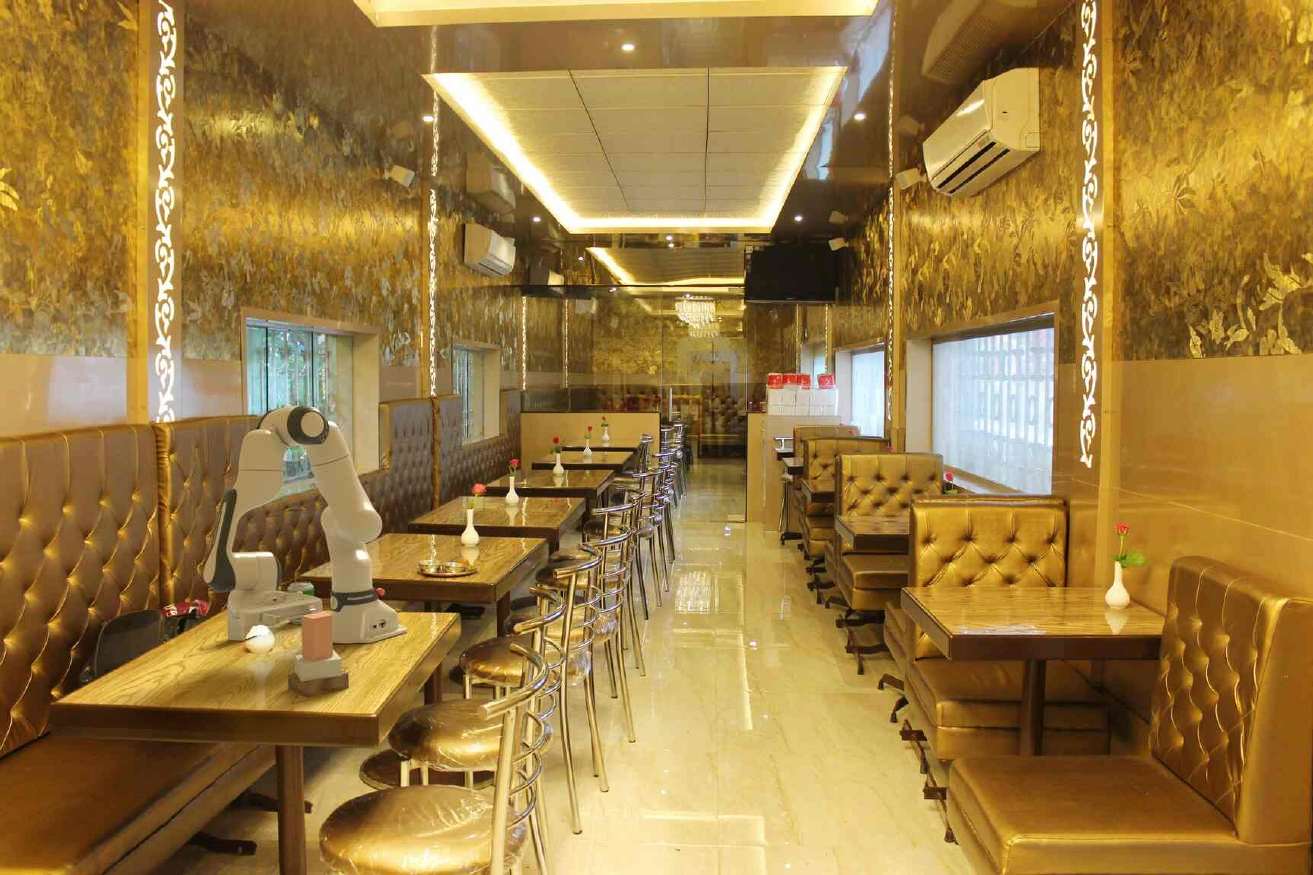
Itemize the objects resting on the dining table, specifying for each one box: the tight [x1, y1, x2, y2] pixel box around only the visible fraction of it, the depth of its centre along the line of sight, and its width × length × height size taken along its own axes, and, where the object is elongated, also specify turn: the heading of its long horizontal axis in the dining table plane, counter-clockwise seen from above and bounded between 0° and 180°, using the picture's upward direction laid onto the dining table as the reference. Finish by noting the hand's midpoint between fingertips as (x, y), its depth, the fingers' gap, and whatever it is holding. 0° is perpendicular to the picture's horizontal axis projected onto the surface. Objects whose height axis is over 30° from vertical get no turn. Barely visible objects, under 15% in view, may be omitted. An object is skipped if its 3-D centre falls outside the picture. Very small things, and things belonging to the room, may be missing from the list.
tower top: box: [294, 649, 343, 682], centre depth 219 cm, size 9×9×4 cm
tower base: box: [287, 670, 350, 699], centre depth 219 cm, size 10×10×4 cm
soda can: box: [287, 581, 315, 625], centre depth 286 cm, size 8×8×12 cm
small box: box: [226, 604, 252, 642], centre depth 267 cm, size 8×6×10 cm
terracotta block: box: [301, 611, 334, 661], centre depth 219 cm, size 5×5×10 cm
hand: (295, 616), depth 227 cm, fingers open, 8 cm apart
